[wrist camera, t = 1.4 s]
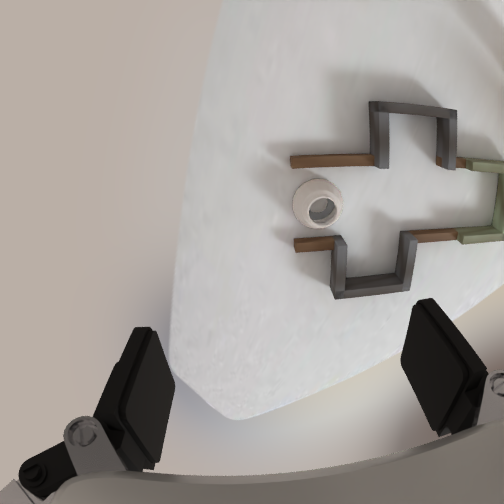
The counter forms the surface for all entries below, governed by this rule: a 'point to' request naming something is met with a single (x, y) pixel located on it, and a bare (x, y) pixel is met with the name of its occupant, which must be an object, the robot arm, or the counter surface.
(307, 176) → the counter surface
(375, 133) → the box
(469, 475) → the robot arm
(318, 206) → the white jar
